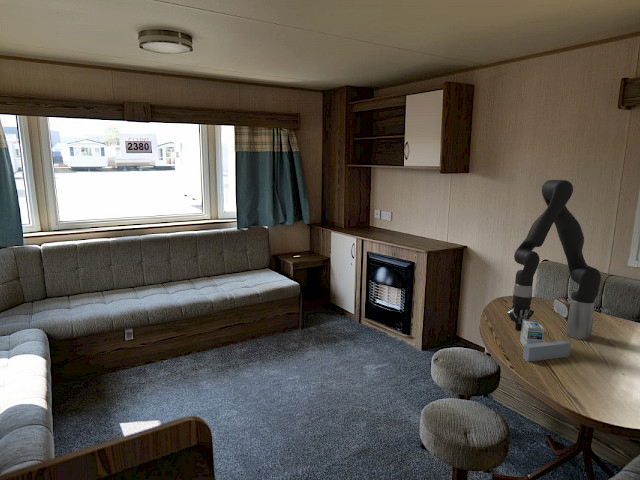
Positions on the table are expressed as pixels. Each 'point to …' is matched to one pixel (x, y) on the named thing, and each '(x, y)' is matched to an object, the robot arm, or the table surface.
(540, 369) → the table surface
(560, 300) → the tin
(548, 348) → the slate prism bar
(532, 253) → the robot arm
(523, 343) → the light bulb box
